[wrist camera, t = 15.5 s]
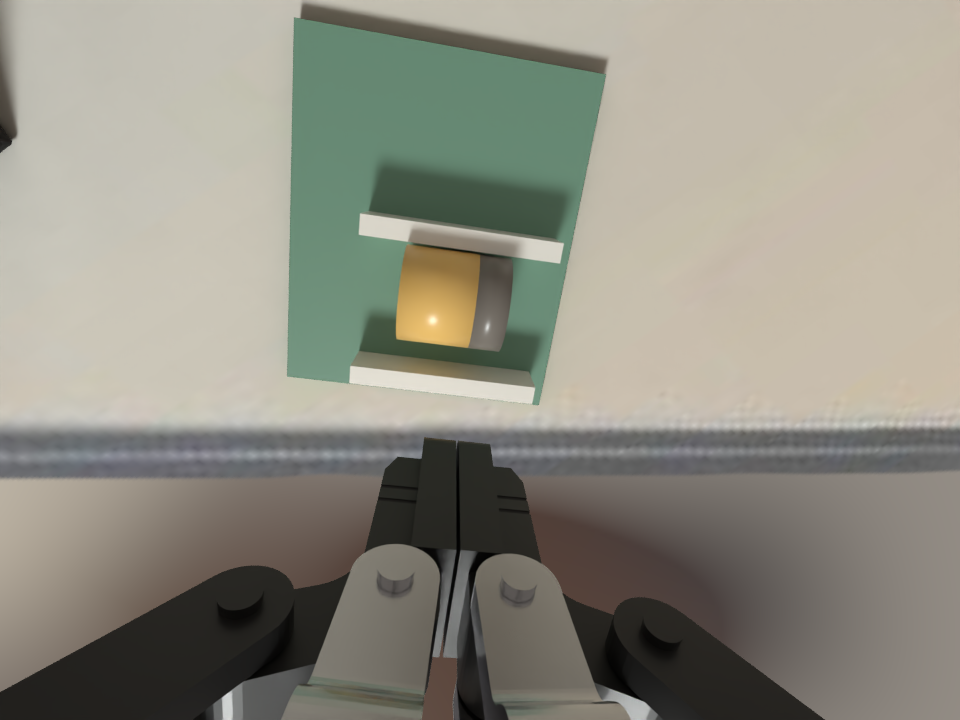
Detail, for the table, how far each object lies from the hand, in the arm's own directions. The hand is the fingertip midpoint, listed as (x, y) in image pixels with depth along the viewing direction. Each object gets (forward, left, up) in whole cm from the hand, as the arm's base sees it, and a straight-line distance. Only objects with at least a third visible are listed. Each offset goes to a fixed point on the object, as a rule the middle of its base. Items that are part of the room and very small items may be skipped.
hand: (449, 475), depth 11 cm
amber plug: (0, 0, -17) cm, 17 cm away
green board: (-3, -2, -18) cm, 18 cm away
